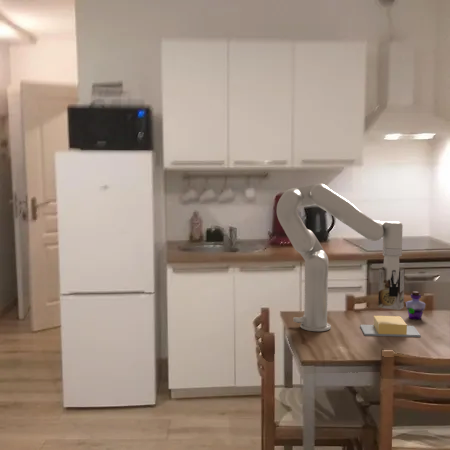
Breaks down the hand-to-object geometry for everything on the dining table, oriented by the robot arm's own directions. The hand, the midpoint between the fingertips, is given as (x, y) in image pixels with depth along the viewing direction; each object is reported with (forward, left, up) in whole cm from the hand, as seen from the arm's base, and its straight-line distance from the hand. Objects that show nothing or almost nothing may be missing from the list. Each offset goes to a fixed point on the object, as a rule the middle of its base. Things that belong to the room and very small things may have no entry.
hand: (391, 293), depth 249 cm
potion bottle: (+15, +22, -16) cm, 31 cm away
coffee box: (0, 0, -6) cm, 6 cm away
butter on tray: (0, 0, -16) cm, 16 cm away
